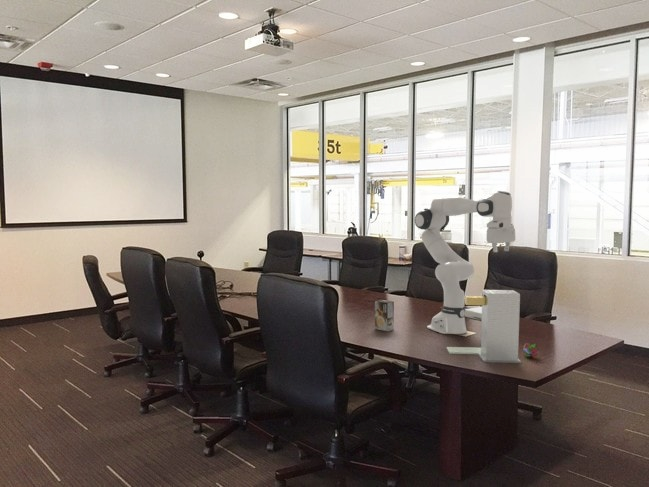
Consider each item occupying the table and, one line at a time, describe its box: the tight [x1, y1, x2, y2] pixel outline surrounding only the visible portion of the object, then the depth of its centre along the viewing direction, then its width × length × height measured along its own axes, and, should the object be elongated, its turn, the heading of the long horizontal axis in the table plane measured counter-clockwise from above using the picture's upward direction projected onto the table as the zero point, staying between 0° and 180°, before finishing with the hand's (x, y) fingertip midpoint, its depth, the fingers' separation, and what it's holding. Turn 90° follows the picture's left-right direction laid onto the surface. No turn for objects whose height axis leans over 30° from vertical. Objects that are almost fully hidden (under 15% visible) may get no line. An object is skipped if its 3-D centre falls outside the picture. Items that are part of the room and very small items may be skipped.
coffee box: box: [374, 299, 395, 332], centre depth 294 cm, size 9×6×16 cm
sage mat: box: [446, 346, 481, 355], centre depth 251 cm, size 22×9×1 cm, turn 87°
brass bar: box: [464, 295, 486, 306], centre depth 237 cm, size 19×4×4 cm, turn 87°
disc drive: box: [464, 306, 482, 321], centre depth 328 cm, size 18×22×5 cm
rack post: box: [477, 289, 522, 364], centre depth 238 cm, size 16×11×31 cm
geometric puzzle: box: [522, 342, 540, 360], centre depth 242 cm, size 7×7×8 cm
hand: (500, 251), depth 261 cm, fingers open, 8 cm apart
